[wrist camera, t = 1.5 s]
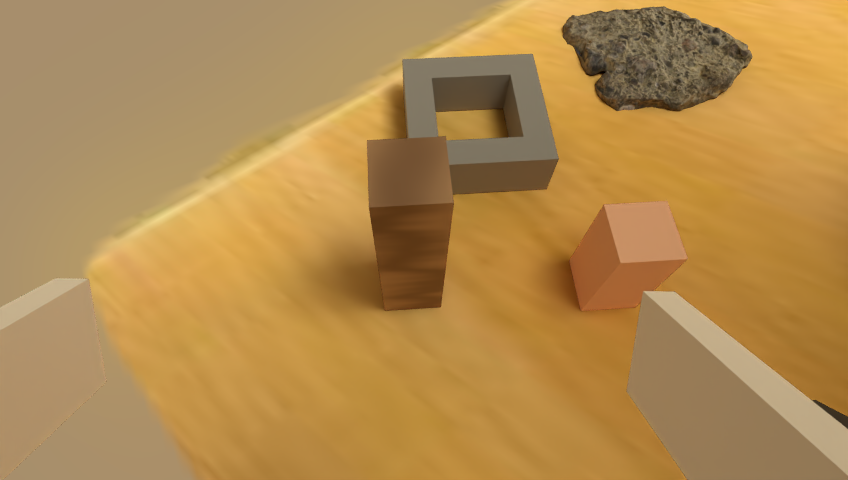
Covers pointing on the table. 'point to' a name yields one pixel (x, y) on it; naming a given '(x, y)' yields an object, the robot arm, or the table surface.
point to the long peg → (410, 218)
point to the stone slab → (655, 57)
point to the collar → (474, 90)
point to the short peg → (626, 255)
